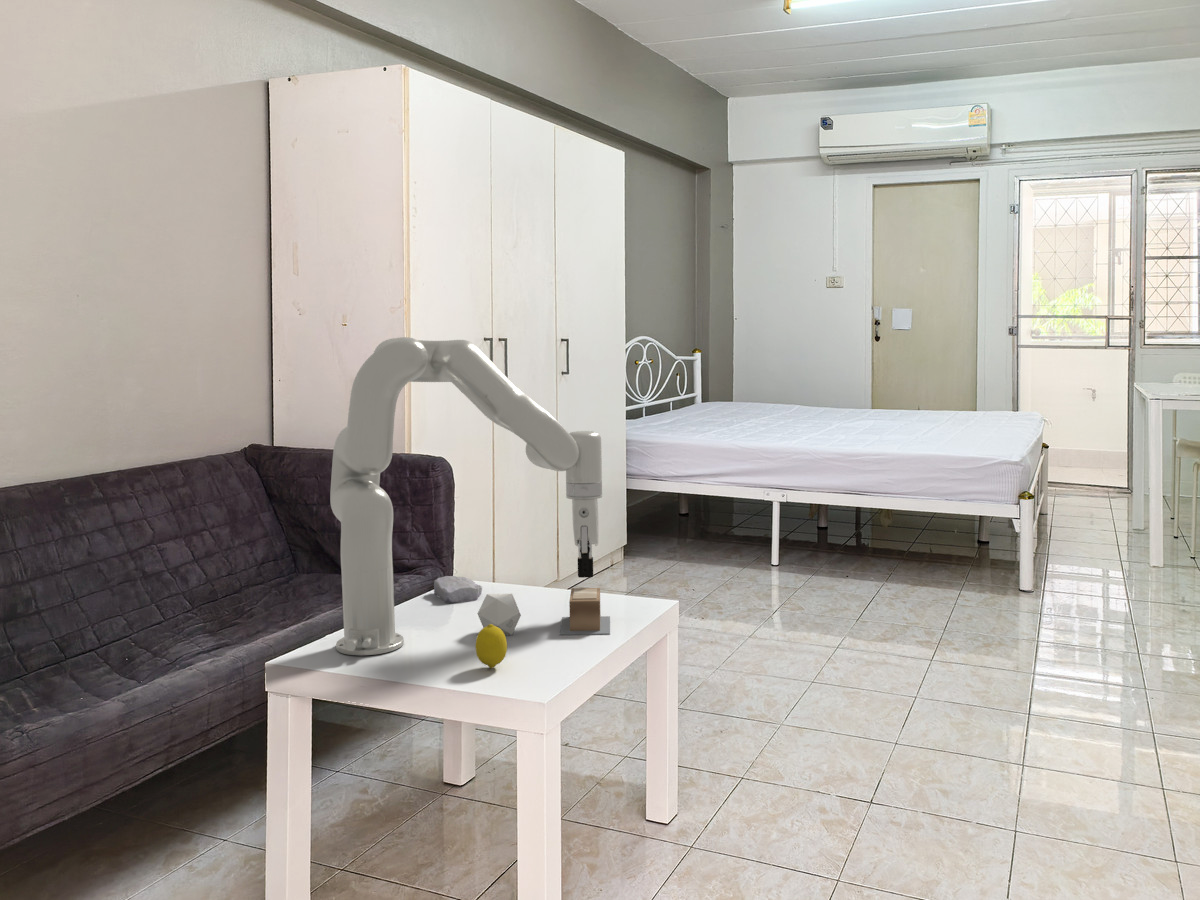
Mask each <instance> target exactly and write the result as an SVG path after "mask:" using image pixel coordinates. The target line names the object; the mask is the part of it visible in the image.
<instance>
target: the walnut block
mask: <svg viewBox="0 0 1200 900" xmlns="http://www.w3.org/2000/svg"><path fill="white" fill-rule="evenodd" d="M568 603H569V605H568V607H569V617H570V631H600V616H601V587H572V588H571V590H570V597H569V601H568Z"/></svg>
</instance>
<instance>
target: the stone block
mask: <svg viewBox="0 0 1200 900" xmlns="http://www.w3.org/2000/svg"><path fill="white" fill-rule="evenodd" d="M433 588H434V589H433V592H434V594H435V596H437V597H438V598H439V599H440V600H441V601H443V602H444V603H448V604H455V603H457V604H458V603H463V602H472V601H473V602H474V601H477V600H478V598H479V597H480V596H481V595H482V592H483V586H482V585H481V584H478V583H476V582H475V581H474V580H471V579H470V578H467V577H464V576H455V575H450V576H449V575H445V576H440V577H438V578H437V579H435V580H434V581H433Z"/></svg>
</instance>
